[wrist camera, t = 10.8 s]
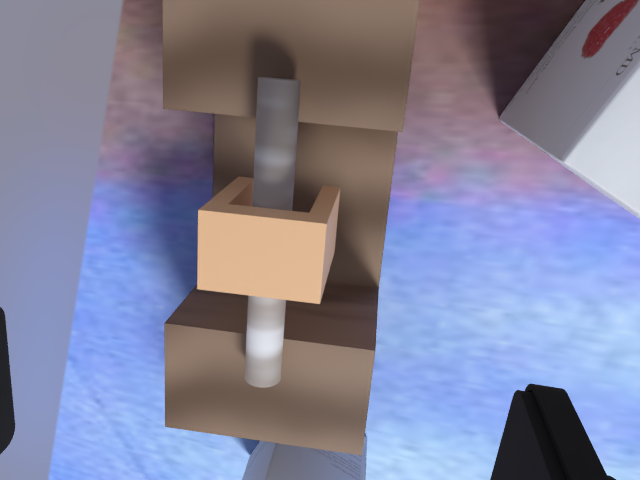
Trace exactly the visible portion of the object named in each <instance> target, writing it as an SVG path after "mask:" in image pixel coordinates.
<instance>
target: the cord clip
mask: <svg viewBox="0 0 640 480" xmlns="http://www.w3.org/2000/svg"><path fill="white" fill-rule="evenodd" d="M339 197H340V187H335V186H326V185H323V187H322V189H321V191H320V193H319V195H318V197H317V199H316V201H315V203H314V205H313V207H312V209H311V211H310V213H307V212H297V211H288V210H279V209H269V208H260V207H252V200H253V178H248V177H237V178H236V179H235V180H234V181H233V182H231V183H230V184H229V185H228V186H227V187H225V188H224V189H223V190H222V191H220V192H219V193H218V194H217V195H216V196H214V197H213V198H212V199H211V200H210V201H208V202H207V203H206V204H205V205H203V206H202V207H201V208H200V209H199V210H198V272H197V289H199V290H207V291H216V292H224V293H232V294H241V295H249V296H257V297H265V298H274V299H282V300H290V301H299V302H307V303H315V304H320V302H321V299H322V295H323V291H324V288H325V284H326V281H327V277H328V274H329V270H330V266H331V263H332V259H333V256H334V252H335V241H336V230H337V219H338V208H339Z"/></svg>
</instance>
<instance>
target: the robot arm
mask: <svg viewBox="0 0 640 480" xmlns="http://www.w3.org/2000/svg"><path fill="white" fill-rule="evenodd" d="M7 344H8V343H7V333H6V321H5V314H4V311H3V309H2V308H1V307H0V454H1V453H2V452H3V451H4V450H5V449H6V448H7V446H8V445H9V444H10V442H11V440H12V437H13V435H14V431H15V420H14V409H13V400H12V399H13V398H12V388H11V376H10V365H9V354H8V345H7ZM491 480H616V479H614V478H613V477H611V476H608V475H606V473H605V471H604V469H603V466H602V464H601V462H600V460H599V458H598V456H597V454H596V452H595V450H594V448H593V446H592V444H591V442H590V440H589V438H588V436H587V433H586V431H585V429H584V427H583V425H582V423H581V421H580V419H579V417H578V415H577V413H576V411H575V409H574V407H573V405H572V402H571V400H570V398H569V396H568V394H567V392H566V391H565V390H564V389H561V388H554V387H548V386H542V385H536V384H529V385H528V386H527V387H526V389H525V391H520V390H517V391H516V392H515V393H514V396H513V399H512V402H511V406H510V410H509V413H508V417H507V421H506V425H505V428H504V432H503V436H502V439H501V443H500V447H499V450H498V454H497V458H496V461H495V465H494V469H493V472H492V476H491Z"/></svg>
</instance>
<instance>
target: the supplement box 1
mask: <svg viewBox="0 0 640 480" xmlns="http://www.w3.org/2000/svg"><path fill="white" fill-rule="evenodd" d="M366 453H367V438H366V437H365V436H364V443H363V451H362V455H355V454H348V453H341V452H334V451H328V450H321V449H314V448H307V447H300V446H293V445H287V444H280V443H273V442H266V441H260V442H259V443H258V445H257V446H256V448H255V449H254V451H253V452H252V454H251V455H250V457H249V460H248V463H247V467H246V470H245V473H244V476H243V479H242V480H365V478H366Z"/></svg>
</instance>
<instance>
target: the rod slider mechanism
mask: <svg viewBox="0 0 640 480" xmlns="http://www.w3.org/2000/svg"><path fill="white" fill-rule="evenodd" d="M419 1H420V0H163V109H172V110H182V111H193V112H203V113H213V114H215V124H214V169H213V197H214V196H216V195H217V194H218V193H219V192H220V191H222V190H223V189H224V188H225V187H227V186H228V185H229V184H230V183H231V182H233V181H234V180H235V179H236V178H237V177H248V178H253V200H252V207H260V208H269V209H279V210H288V211H297V212H307V213H310V211H311V209H312V207H313V205H314V203H315V201H316V199H317V197H318V195H319V193H320V191H321V189H322V187H323V185H326V186H335V187H340V197H339V208H338V219H337V230H336V241H335V252H334V256H333V259H332V263H331V266H330V270H329V274H328V277H327V281H326V284H325V288H324V291H323V295H322V299H321V302H320V304H315V303H307V302H299V301H290V300H282V299H274V298H265V297H257V296H249V295H241V294H232V293H224V292H216V291H207V290H199V289H197V285H196V286H195V287H194V289H193V290H192V291H191V292H190V293H189V295H188V296H187V297H186V298H185V299H184V301H183V302H182V303H181V304H180V305H179V307H178V308H177V309H176V310H175V311H174V313H173V314H172V315H171V316H170V317H169V319H168V320H167V321H166V322H165V427H170V428H177V429H184V430H191V431H198V432H205V433H211V434H218V435H225V436H232V437H239V438H246V439H252V440H259V441H266V442H273V443H280V444H287V445H293V446H300V447H307V448H314V449H321V450H328V451H334V452H341V453H348V454H355V455H362V451H363V443H364V436H365V428H366V420H367V412H368V404H369V396H370V388H371V380H372V372H373V364H374V356H375V346H376V327H377V308H378V290H379V280H380V272H381V264H382V256H383V248H384V240H385V232H386V224H387V216H388V208H389V200H390V191H391V183H392V175H393V167H394V159H395V151H396V143H397V135H398V132H403V127H404V119H405V111H406V103H407V95H408V88H409V80H410V72H411V64H412V56H413V48H414V40H415V32H416V24H417V16H418V8H419Z"/></svg>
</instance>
